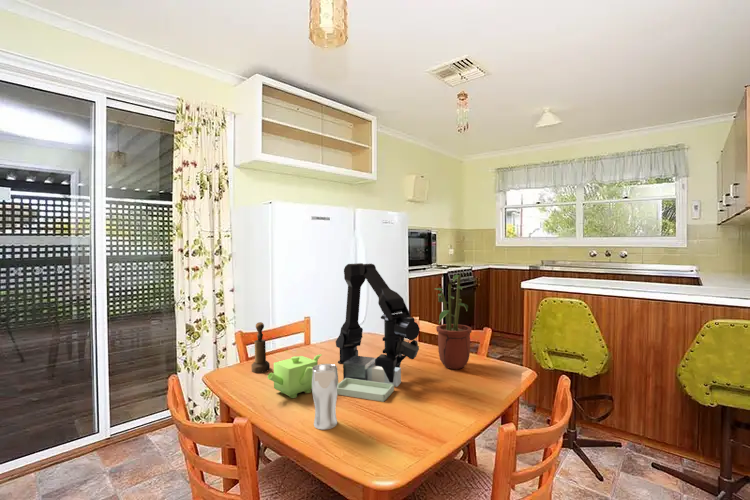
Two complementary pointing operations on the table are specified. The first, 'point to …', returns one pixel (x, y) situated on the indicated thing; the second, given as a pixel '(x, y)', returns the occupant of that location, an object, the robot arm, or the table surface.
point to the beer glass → (325, 395)
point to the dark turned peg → (260, 352)
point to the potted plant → (453, 333)
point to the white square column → (383, 375)
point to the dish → (365, 389)
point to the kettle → (293, 375)
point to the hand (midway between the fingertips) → (393, 380)
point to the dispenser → (357, 367)
